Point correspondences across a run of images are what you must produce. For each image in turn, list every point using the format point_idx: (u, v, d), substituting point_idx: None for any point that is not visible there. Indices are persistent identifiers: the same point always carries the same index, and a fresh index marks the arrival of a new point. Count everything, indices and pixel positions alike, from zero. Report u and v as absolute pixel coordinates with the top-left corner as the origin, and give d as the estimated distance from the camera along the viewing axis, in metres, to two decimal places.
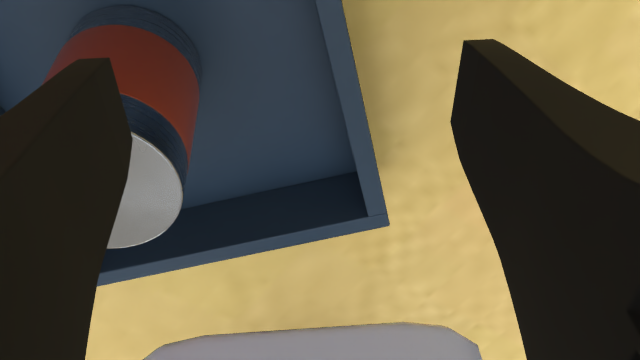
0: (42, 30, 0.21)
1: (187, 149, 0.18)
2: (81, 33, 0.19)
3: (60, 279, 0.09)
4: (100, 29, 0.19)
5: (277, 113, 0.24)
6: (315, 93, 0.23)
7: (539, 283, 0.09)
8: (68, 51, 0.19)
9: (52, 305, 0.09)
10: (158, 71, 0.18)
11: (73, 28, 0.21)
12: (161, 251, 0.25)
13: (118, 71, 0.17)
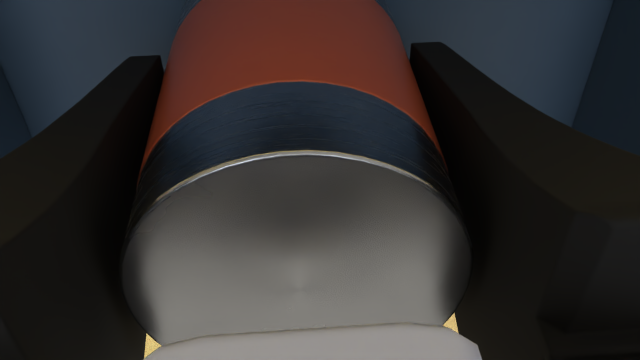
0: None
1: (320, 77, 0.08)
2: None
3: None
4: None
5: None
6: None
7: (472, 287, 0.09)
8: None
9: (119, 301, 0.09)
10: (198, 46, 0.10)
11: None
12: None
13: (154, 120, 0.09)
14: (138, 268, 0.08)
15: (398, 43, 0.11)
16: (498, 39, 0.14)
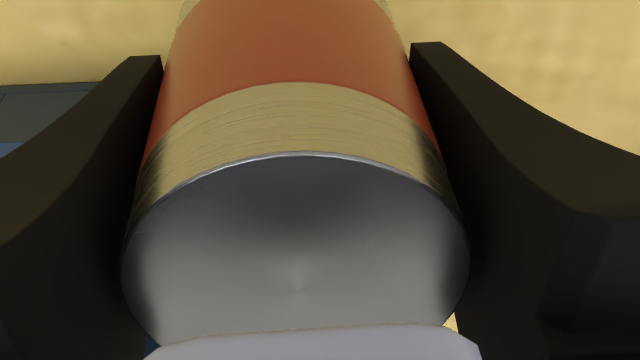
0: None
1: (320, 78, 0.08)
2: None
3: None
4: None
5: None
6: None
7: (472, 287, 0.09)
8: None
9: (119, 301, 0.09)
10: (198, 46, 0.10)
11: None
12: None
13: (153, 120, 0.09)
14: (137, 268, 0.08)
15: (397, 43, 0.11)
16: None
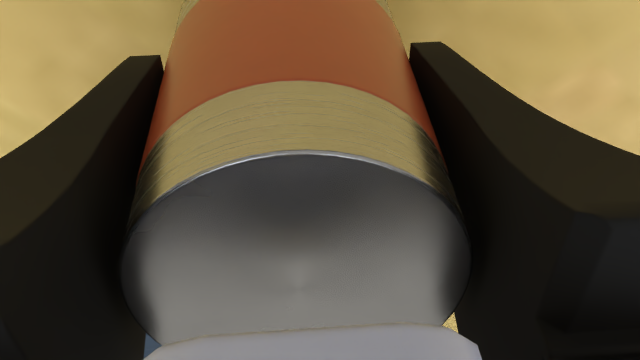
0: None
1: (320, 76, 0.08)
2: None
3: None
4: None
5: None
6: None
7: (472, 288, 0.09)
8: None
9: (119, 301, 0.09)
10: (198, 45, 0.10)
11: None
12: None
13: (153, 119, 0.09)
14: (137, 267, 0.08)
15: (398, 42, 0.11)
16: None
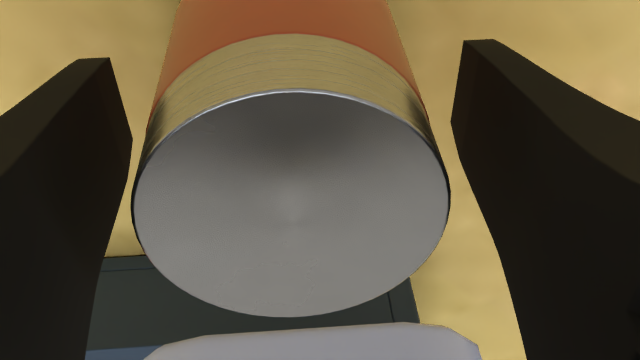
0: None
1: (312, 30, 0.09)
2: None
3: (60, 279, 0.09)
4: None
5: None
6: None
7: (539, 283, 0.09)
8: None
9: (52, 305, 0.09)
10: (202, 8, 0.10)
11: None
12: None
13: (161, 76, 0.10)
14: (148, 201, 0.09)
15: (385, 10, 0.12)
16: None
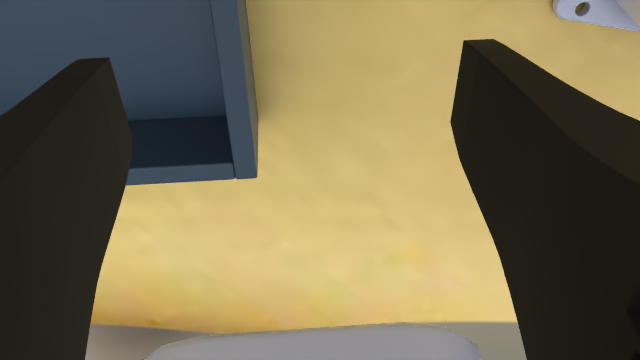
0: None
1: None
2: None
3: (60, 279, 0.09)
4: None
5: None
6: None
7: (539, 283, 0.09)
8: None
9: (52, 305, 0.09)
10: None
11: None
12: None
13: None
14: None
15: None
16: None
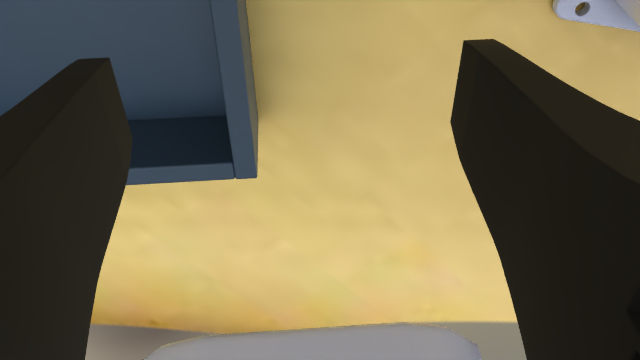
0: None
1: None
2: None
3: (60, 279, 0.09)
4: None
5: None
6: None
7: (539, 283, 0.09)
8: None
9: (52, 305, 0.09)
10: None
11: None
12: None
13: None
14: None
15: None
16: None
